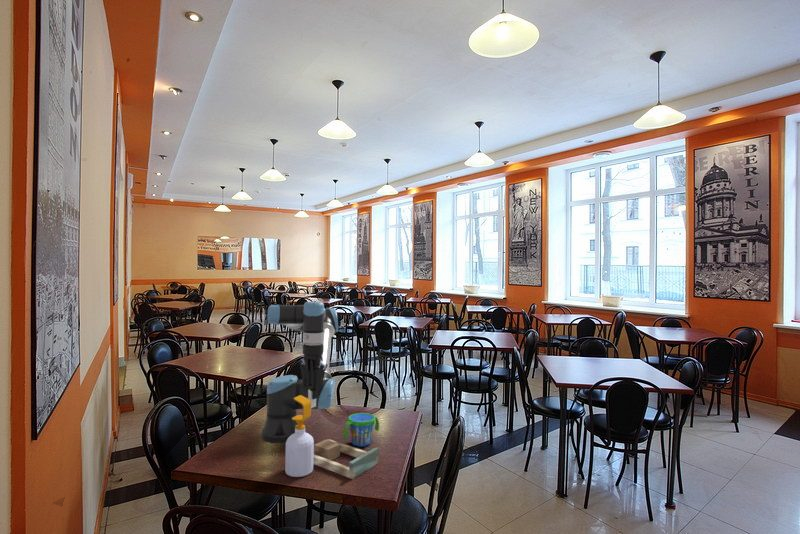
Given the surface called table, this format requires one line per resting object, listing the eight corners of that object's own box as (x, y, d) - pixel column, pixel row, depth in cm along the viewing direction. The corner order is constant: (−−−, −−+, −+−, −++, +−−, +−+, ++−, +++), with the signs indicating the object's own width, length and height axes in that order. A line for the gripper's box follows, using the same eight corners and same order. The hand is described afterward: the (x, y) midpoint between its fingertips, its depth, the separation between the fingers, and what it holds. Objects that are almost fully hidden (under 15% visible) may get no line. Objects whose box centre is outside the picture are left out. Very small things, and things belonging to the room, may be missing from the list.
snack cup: (372, 434, 167) (372, 409, 168) (385, 443, 159) (386, 417, 159) (337, 442, 159) (337, 416, 159) (349, 453, 150) (349, 425, 150)
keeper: (313, 457, 147) (314, 444, 147) (326, 451, 152) (326, 439, 152) (327, 462, 143) (327, 449, 143) (339, 456, 147) (340, 444, 148)
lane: (300, 459, 145) (300, 444, 145) (328, 445, 156) (328, 432, 156) (352, 479, 131) (353, 463, 131) (378, 462, 143) (378, 448, 143)
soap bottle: (296, 462, 142) (297, 391, 142) (318, 467, 138) (319, 395, 139) (279, 474, 134) (280, 399, 134) (302, 480, 130) (304, 402, 130)
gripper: (293, 342, 152) (292, 406, 152) (318, 346, 145) (317, 413, 145) (308, 340, 159) (307, 401, 158) (333, 344, 151) (331, 407, 151)
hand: (311, 406), depth 152 cm, fingers closed
